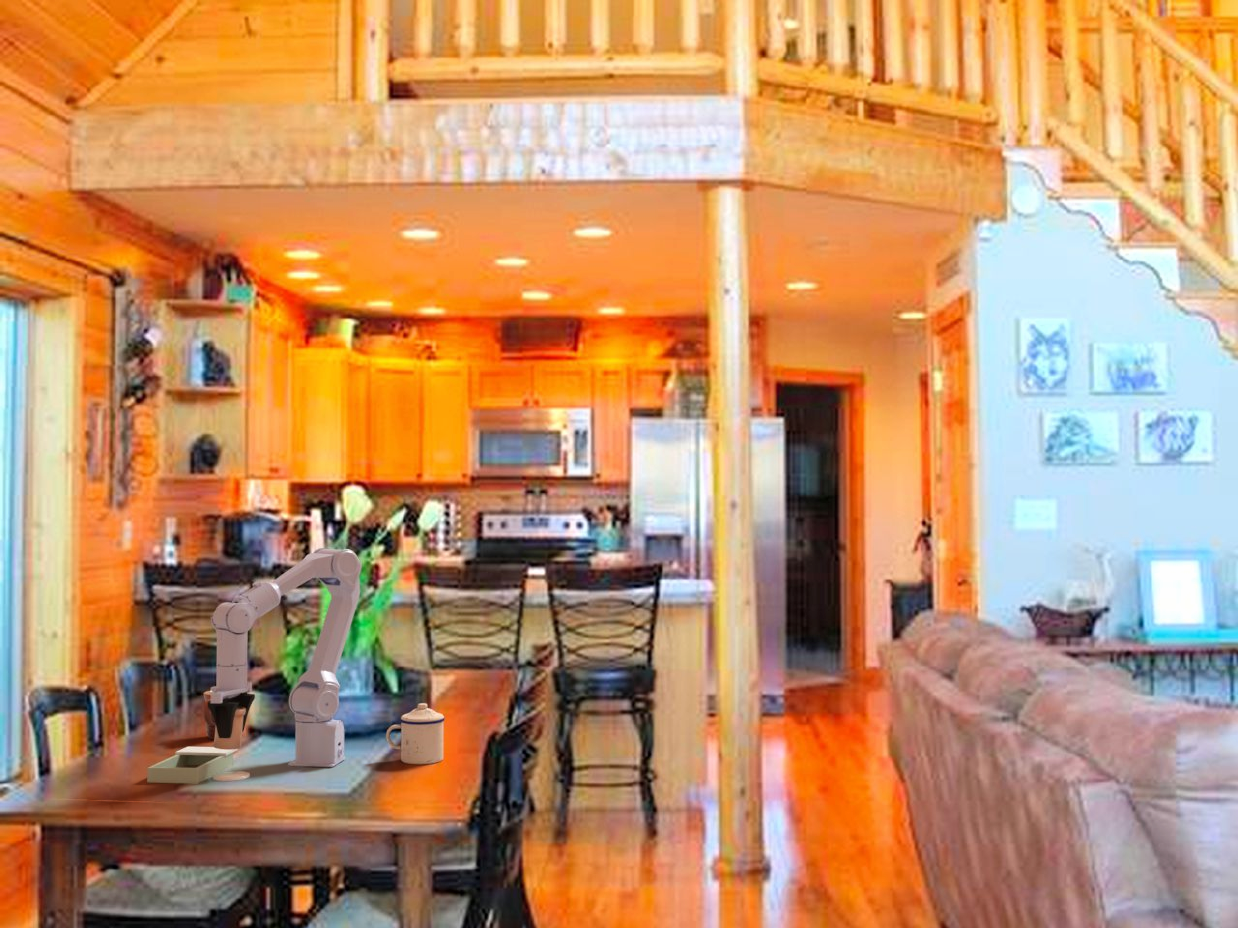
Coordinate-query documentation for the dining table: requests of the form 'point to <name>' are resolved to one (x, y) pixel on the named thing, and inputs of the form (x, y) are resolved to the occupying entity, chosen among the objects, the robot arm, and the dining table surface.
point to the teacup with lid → (420, 736)
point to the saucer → (230, 776)
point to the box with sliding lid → (191, 765)
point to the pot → (236, 732)
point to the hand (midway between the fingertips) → (231, 735)
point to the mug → (209, 716)
